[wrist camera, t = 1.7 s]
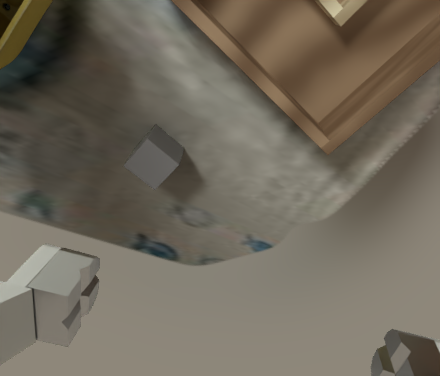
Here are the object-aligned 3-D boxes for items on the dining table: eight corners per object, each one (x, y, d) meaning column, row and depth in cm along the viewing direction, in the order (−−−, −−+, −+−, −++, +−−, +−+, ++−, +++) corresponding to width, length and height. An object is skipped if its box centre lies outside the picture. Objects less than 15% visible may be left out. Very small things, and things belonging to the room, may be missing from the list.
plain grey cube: (133, 149, 40) (123, 166, 36) (155, 124, 39) (147, 138, 35) (161, 171, 42) (154, 190, 38) (184, 148, 40) (179, 164, 36)
